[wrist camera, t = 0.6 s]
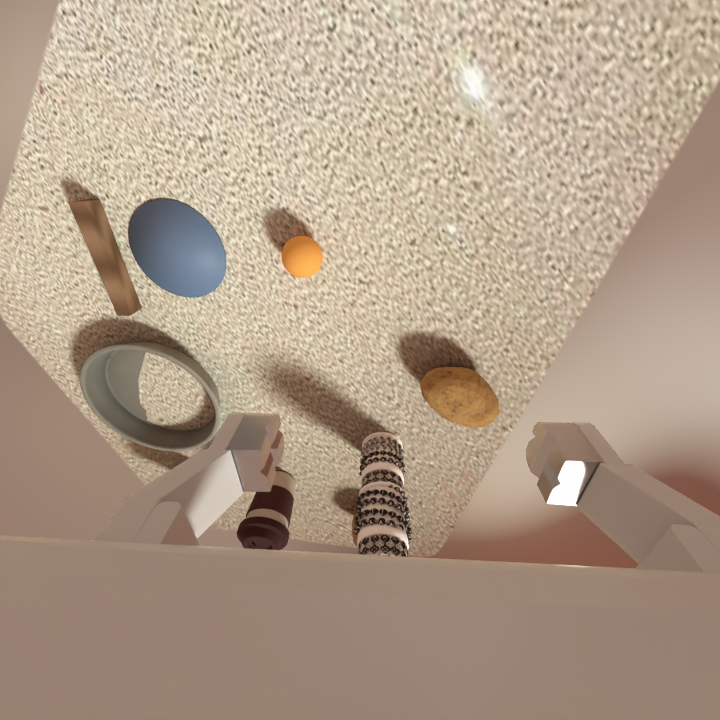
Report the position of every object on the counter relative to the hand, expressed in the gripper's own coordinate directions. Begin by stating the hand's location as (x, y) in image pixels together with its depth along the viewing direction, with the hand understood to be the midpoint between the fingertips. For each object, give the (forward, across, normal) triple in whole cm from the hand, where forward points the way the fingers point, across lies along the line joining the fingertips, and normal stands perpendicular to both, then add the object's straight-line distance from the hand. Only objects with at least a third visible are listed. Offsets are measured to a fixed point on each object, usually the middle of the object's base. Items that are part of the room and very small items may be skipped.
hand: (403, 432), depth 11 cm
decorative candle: (+40, 0, +43) cm, 59 cm away
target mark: (+40, +30, +4) cm, 50 cm away
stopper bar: (+40, +40, +5) cm, 57 cm away
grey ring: (+41, +42, +30) cm, 65 cm away
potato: (+40, -12, +26) cm, 49 cm away
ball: (+37, +12, +4) cm, 39 cm away
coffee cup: (+40, +22, +55) cm, 72 cm away
